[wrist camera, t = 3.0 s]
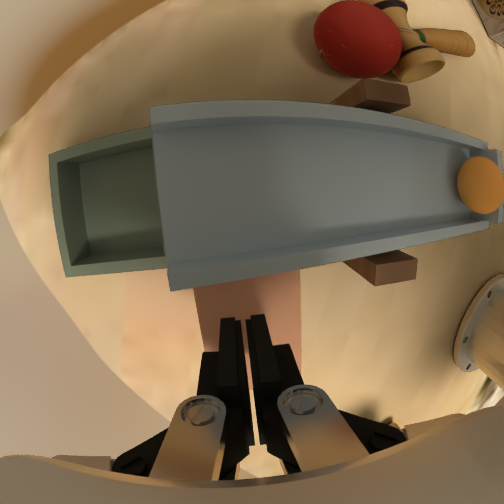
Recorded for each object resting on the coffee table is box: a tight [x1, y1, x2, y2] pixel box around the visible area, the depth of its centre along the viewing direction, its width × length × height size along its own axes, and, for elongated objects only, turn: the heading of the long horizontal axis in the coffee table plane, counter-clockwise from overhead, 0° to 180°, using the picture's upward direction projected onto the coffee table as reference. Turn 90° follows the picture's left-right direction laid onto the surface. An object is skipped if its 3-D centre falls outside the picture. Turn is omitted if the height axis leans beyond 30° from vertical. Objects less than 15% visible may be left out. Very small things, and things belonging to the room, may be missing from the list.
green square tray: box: [49, 126, 168, 277], centre depth 16 cm, size 8×8×4 cm
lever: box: [150, 100, 503, 389], centre depth 12 cm, size 20×12×4 cm, turn 94°
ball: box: [457, 156, 504, 214], centre depth 12 cm, size 4×4×4 cm
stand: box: [330, 78, 417, 286], centre depth 14 cm, size 21×9×8 cm, turn 95°
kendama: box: [314, 0, 475, 83], centre depth 13 cm, size 8×6×18 cm
